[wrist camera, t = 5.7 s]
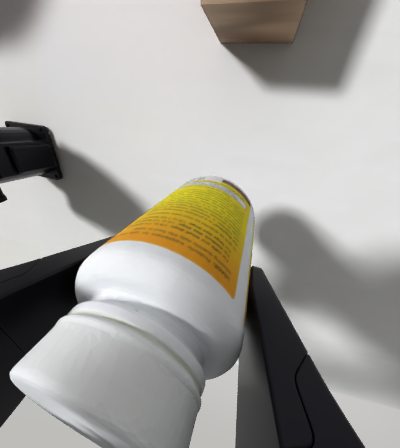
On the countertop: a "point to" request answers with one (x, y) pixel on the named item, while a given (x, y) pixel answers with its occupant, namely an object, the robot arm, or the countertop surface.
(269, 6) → the walnut block
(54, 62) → the countertop surface
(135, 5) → the countertop surface
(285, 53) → the countertop surface
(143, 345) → the supplement bottle
